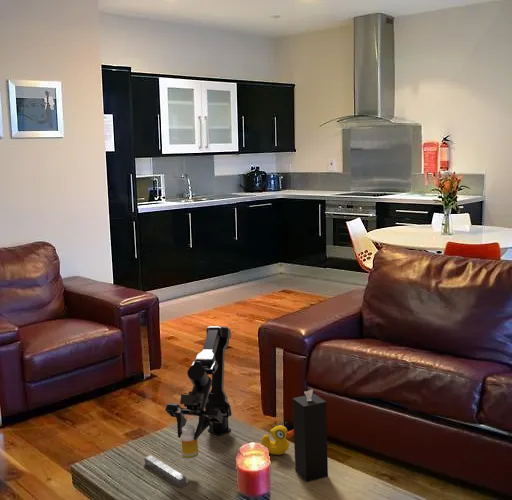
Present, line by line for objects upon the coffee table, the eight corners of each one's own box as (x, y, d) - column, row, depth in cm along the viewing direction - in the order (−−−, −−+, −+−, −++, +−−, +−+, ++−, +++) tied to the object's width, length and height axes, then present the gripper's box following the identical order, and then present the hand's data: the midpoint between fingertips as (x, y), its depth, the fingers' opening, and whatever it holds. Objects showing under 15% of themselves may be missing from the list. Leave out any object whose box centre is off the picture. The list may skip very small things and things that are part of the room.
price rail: (152, 461, 213) (151, 454, 213) (187, 484, 197) (186, 476, 197) (144, 464, 212) (144, 457, 211) (179, 487, 196) (179, 479, 195)
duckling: (295, 450, 217) (295, 423, 216) (294, 458, 212) (293, 429, 210) (263, 449, 219) (262, 422, 218) (260, 456, 214) (259, 428, 212)
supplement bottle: (200, 457, 202) (199, 428, 200) (185, 461, 199) (183, 432, 198) (194, 450, 207) (193, 422, 205) (179, 454, 204) (177, 426, 203)
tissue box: (294, 471, 203) (292, 388, 199) (316, 466, 206) (314, 383, 202) (306, 482, 195) (303, 396, 191) (328, 476, 198) (326, 391, 194)
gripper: (165, 379, 206) (150, 425, 198) (217, 385, 200) (204, 432, 191) (178, 393, 215) (164, 438, 207) (228, 399, 208) (216, 445, 200)
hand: (186, 438), depth 201 cm, fingers closed on supplement bottle, 5 cm apart
